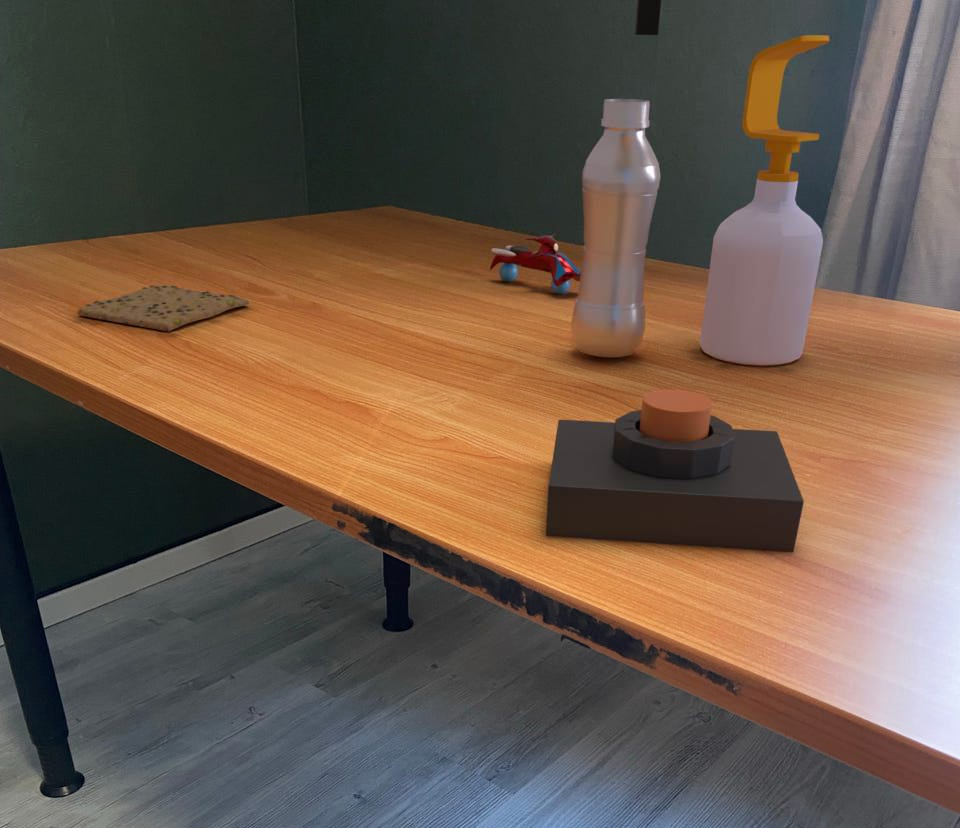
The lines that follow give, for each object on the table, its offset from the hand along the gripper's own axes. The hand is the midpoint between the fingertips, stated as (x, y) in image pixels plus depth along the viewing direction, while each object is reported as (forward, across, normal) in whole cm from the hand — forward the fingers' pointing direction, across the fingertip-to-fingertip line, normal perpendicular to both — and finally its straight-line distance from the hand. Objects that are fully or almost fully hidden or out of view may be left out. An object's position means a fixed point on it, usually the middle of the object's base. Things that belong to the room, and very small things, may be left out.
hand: (646, 34), depth 70 cm
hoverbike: (+25, -8, +32) cm, 41 cm away
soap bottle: (+25, +12, +9) cm, 29 cm away
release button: (+20, +2, -26) cm, 33 cm away
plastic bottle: (+25, -1, +6) cm, 26 cm away
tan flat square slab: (+24, -45, +16) cm, 53 cm away
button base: (+25, +2, -26) cm, 36 cm away
